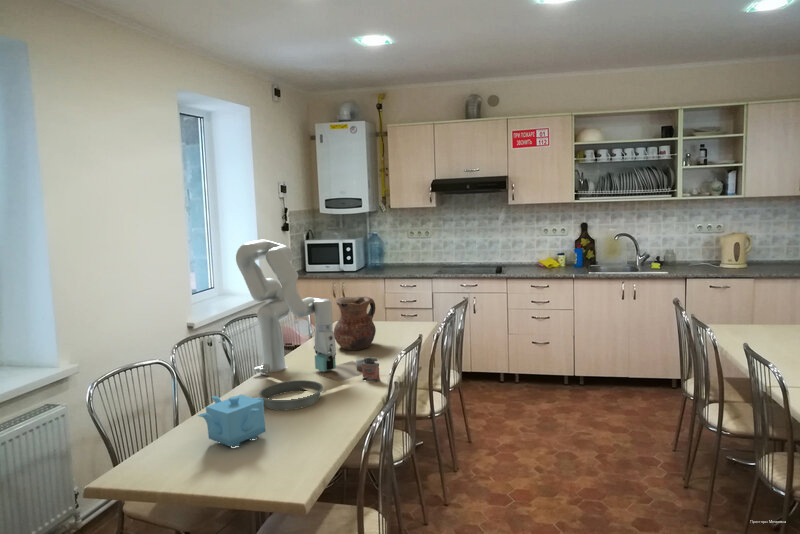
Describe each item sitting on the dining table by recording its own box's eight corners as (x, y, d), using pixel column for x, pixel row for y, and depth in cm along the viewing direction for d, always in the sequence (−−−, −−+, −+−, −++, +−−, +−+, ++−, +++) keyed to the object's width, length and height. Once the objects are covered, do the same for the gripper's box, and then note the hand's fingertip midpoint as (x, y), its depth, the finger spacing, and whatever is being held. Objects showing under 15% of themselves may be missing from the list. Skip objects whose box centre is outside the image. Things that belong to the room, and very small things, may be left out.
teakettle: (268, 427, 212) (265, 386, 210) (262, 449, 194) (258, 405, 192) (212, 432, 210) (208, 391, 208) (201, 455, 192) (196, 410, 190)
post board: (339, 384, 254) (338, 370, 253) (312, 375, 269) (311, 362, 268) (380, 372, 268) (379, 358, 268) (352, 364, 283) (351, 351, 282)
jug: (357, 354, 299) (353, 304, 296) (325, 349, 311) (322, 301, 308) (385, 344, 316) (382, 296, 313) (354, 339, 329) (351, 293, 326)
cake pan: (333, 391, 247) (332, 380, 246) (308, 413, 224) (307, 402, 223) (277, 389, 254) (277, 378, 253) (248, 410, 230) (247, 399, 230)
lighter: (361, 380, 258) (359, 357, 257) (365, 378, 261) (363, 355, 260) (377, 382, 254) (376, 359, 253) (381, 380, 257) (380, 356, 256)
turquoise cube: (323, 371, 264) (323, 358, 263) (315, 368, 269) (314, 355, 268) (335, 368, 268) (335, 355, 268) (327, 365, 273) (326, 352, 272)
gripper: (342, 329, 262) (344, 369, 265) (319, 322, 275) (321, 361, 277) (328, 332, 257) (329, 373, 260) (305, 325, 270) (307, 365, 273)
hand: (325, 366), depth 269 cm, fingers closed on turquoise cube, 6 cm apart
